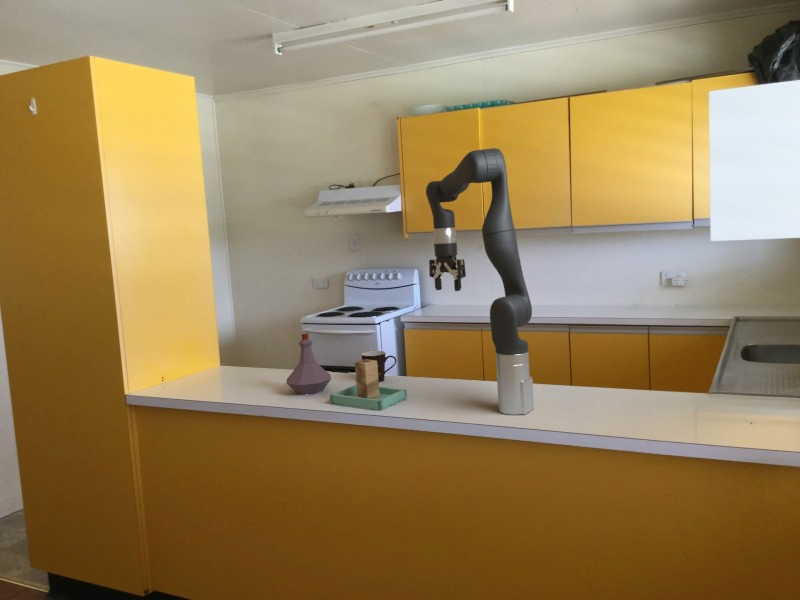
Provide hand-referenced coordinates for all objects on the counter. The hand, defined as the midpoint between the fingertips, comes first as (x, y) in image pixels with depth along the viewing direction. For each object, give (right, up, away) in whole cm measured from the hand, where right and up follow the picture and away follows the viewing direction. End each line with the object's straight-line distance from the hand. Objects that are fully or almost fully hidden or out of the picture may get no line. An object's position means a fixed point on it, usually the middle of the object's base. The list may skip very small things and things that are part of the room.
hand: (448, 290), depth 225 cm
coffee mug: (-24, -32, +16) cm, 43 cm away
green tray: (-26, -36, -10) cm, 45 cm away
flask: (-47, -35, +8) cm, 59 cm away
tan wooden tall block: (-26, -35, -10) cm, 44 cm away
